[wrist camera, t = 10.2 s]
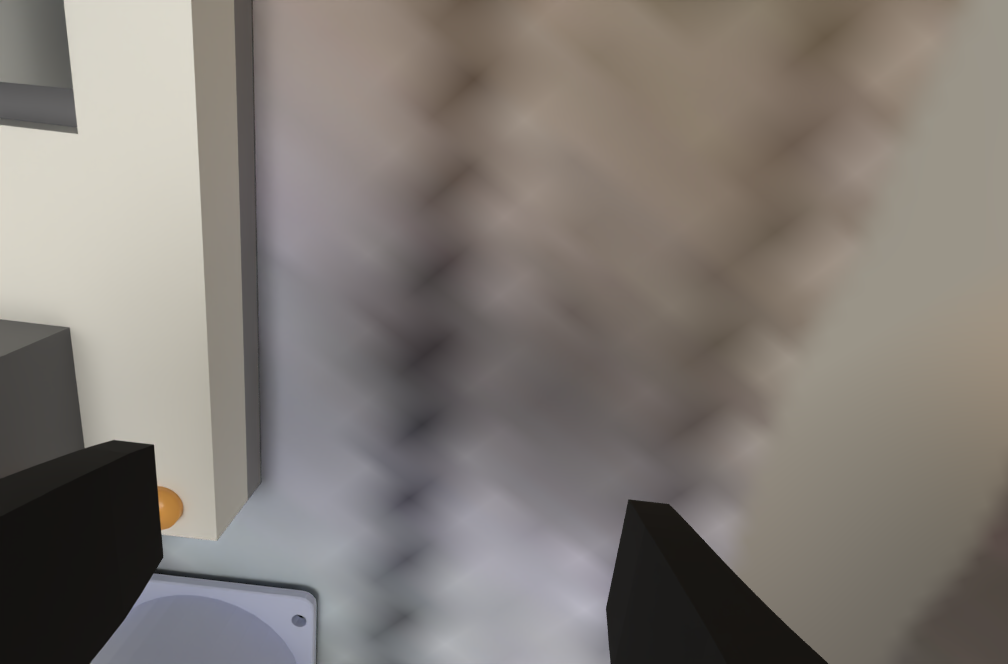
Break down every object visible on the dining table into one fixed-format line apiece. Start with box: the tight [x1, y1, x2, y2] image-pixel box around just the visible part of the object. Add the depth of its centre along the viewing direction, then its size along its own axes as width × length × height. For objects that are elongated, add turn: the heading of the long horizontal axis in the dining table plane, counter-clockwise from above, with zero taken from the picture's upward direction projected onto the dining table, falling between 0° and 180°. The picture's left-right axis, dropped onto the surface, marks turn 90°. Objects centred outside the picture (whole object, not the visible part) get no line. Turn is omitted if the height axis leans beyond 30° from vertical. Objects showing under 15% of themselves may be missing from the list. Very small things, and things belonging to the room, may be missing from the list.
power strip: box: [0, 0, 261, 541], centre depth 16 cm, size 18×10×3 cm, turn 174°
